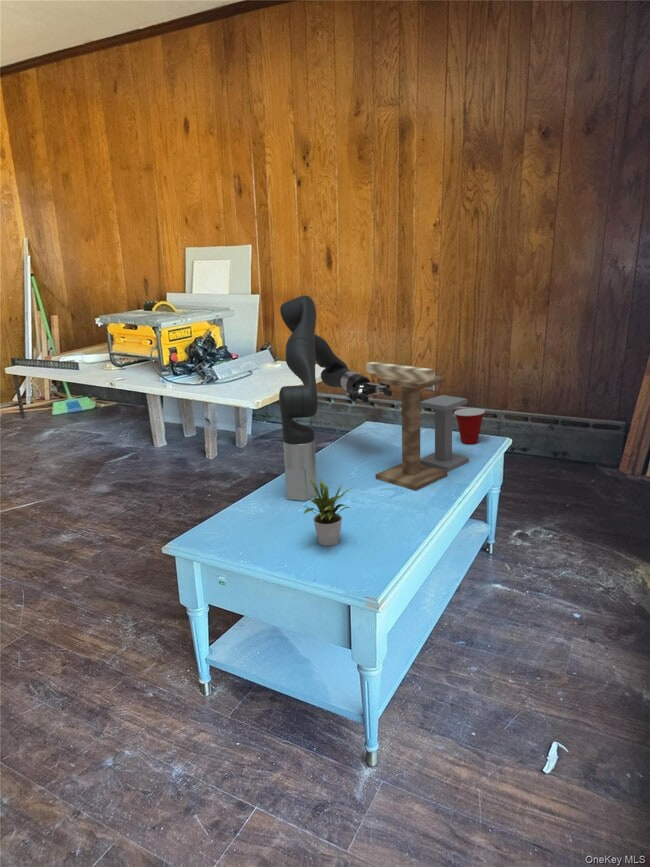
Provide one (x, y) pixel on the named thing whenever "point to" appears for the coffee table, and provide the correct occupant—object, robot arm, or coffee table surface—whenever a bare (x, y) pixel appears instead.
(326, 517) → the house plant
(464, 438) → the plastic cup
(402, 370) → the birch block
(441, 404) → the charcoal stand
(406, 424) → the walnut stand
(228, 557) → the coffee table surface
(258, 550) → the coffee table surface
